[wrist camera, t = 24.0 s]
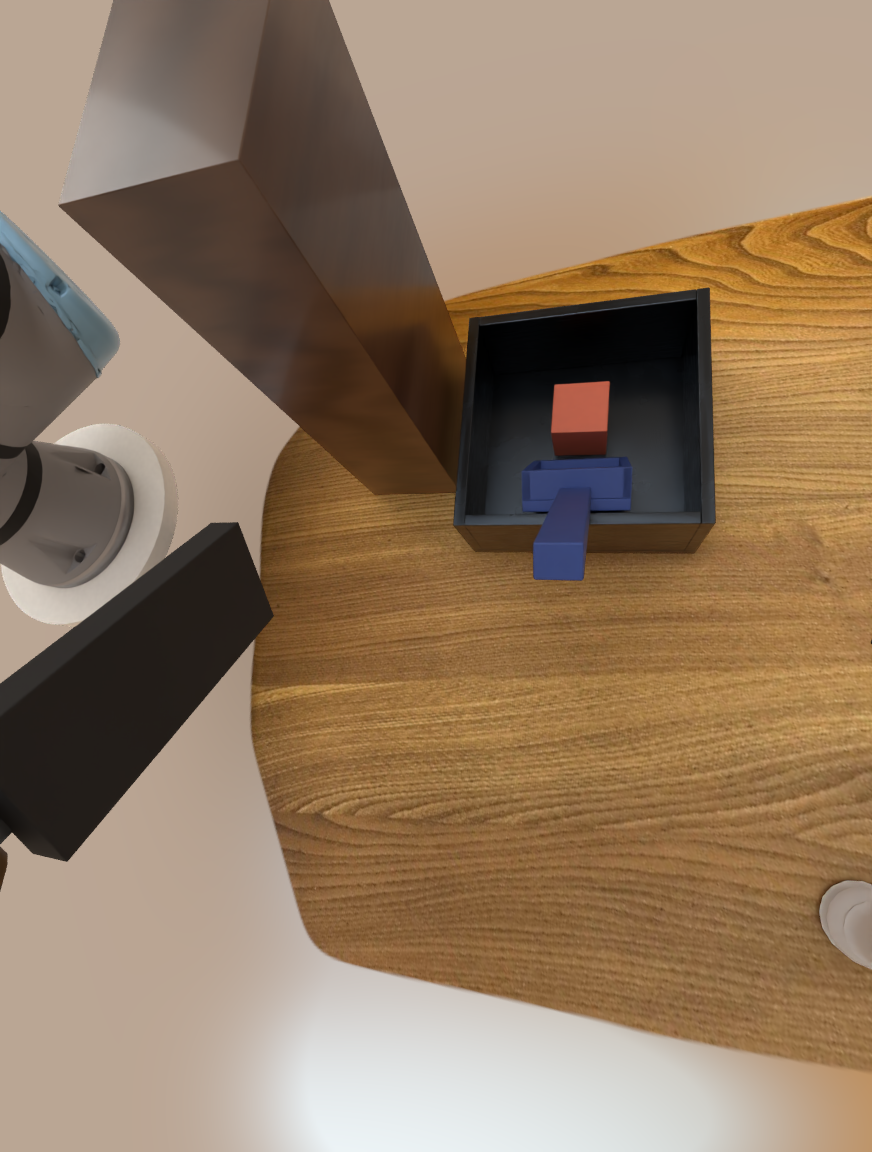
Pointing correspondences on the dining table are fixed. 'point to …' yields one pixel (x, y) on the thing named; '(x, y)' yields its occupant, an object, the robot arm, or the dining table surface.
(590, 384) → the block
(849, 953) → the rook chess piece
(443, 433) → the stand
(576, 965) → the dining table surface
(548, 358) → the black square open box
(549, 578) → the blue long-handled scoop
